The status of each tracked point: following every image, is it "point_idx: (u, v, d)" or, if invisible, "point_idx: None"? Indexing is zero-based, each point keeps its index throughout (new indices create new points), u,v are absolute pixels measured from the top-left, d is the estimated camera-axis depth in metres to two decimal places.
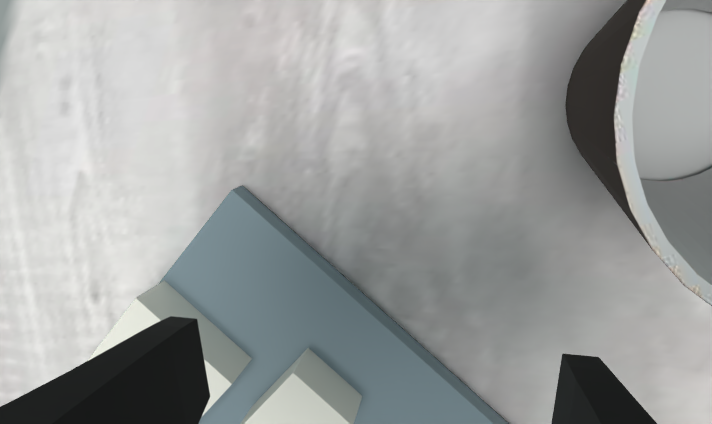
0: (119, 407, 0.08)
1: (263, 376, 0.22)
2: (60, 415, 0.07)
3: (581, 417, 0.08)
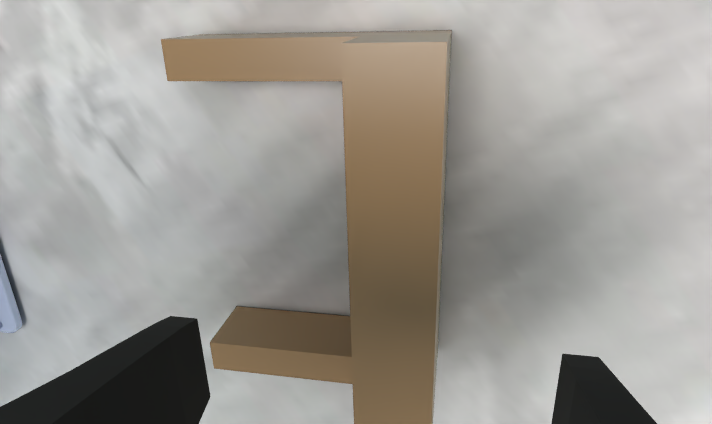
0: (119, 407, 0.08)
1: None
2: (60, 415, 0.07)
3: (581, 417, 0.08)
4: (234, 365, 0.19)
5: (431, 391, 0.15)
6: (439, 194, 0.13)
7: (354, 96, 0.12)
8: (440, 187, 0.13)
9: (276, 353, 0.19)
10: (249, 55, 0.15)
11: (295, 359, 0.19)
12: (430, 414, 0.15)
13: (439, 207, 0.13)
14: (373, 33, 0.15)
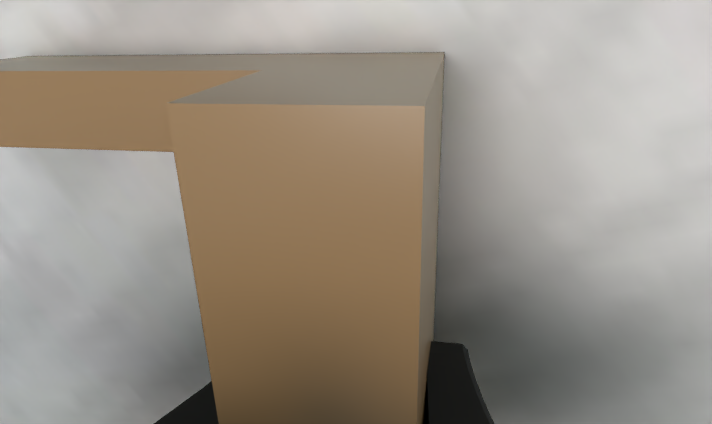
0: None
1: None
2: None
3: (426, 399, 0.08)
4: None
5: None
6: None
7: (211, 223, 0.05)
8: (414, 415, 0.06)
9: None
10: (62, 102, 0.08)
11: None
12: None
13: None
14: (300, 60, 0.08)
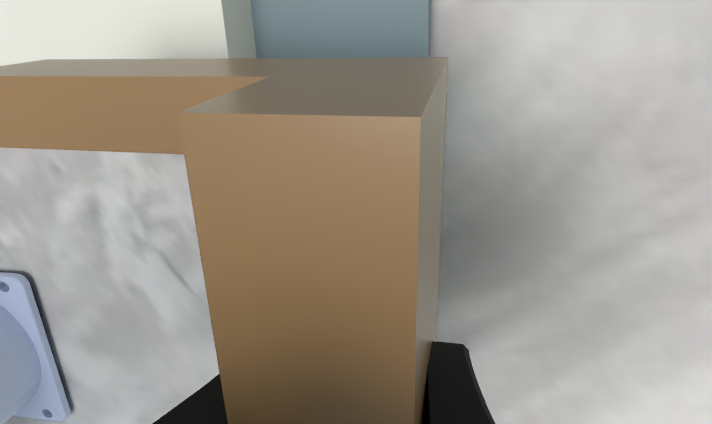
0: None
1: None
2: None
3: (427, 399, 0.08)
4: None
5: None
6: (410, 422, 0.06)
7: (219, 225, 0.05)
8: (412, 409, 0.06)
9: None
10: (80, 106, 0.08)
11: None
12: None
13: None
14: (307, 65, 0.08)
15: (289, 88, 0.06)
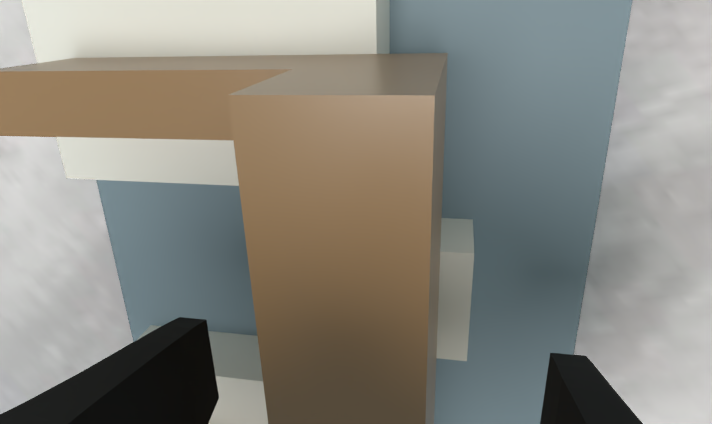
0: (131, 409, 0.08)
1: None
2: (73, 417, 0.07)
3: (567, 415, 0.08)
4: None
5: None
6: (424, 363, 0.07)
7: (261, 192, 0.06)
8: (425, 352, 0.07)
9: None
10: (118, 97, 0.09)
11: None
12: None
13: (424, 384, 0.07)
14: (322, 60, 0.09)
15: (314, 77, 0.07)
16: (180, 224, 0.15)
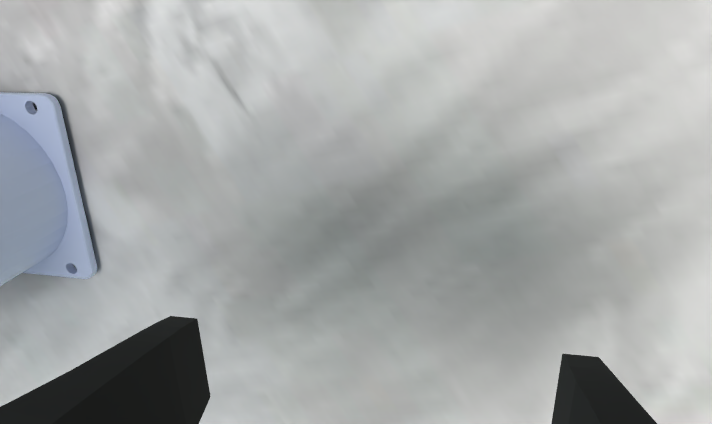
0: (119, 407, 0.08)
1: None
2: (60, 415, 0.07)
3: (581, 417, 0.08)
4: None
5: None
6: None
7: None
8: None
9: None
10: None
11: None
12: None
13: None
14: None
15: None
16: None
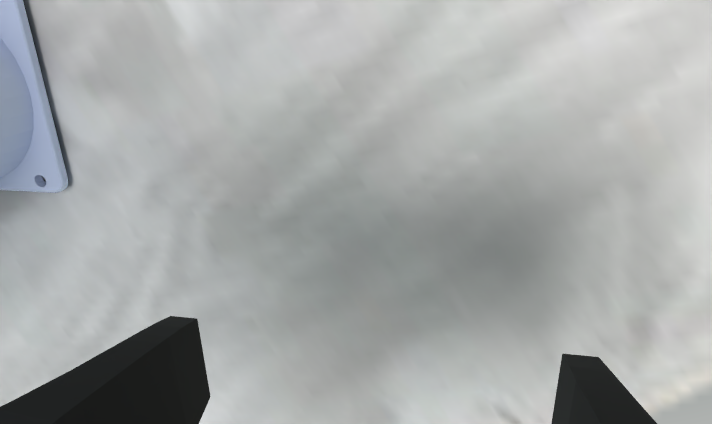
0: (119, 407, 0.08)
1: None
2: (60, 415, 0.07)
3: (581, 417, 0.08)
4: None
5: None
6: None
7: None
8: None
9: None
10: None
11: None
12: None
13: None
14: None
15: None
16: None
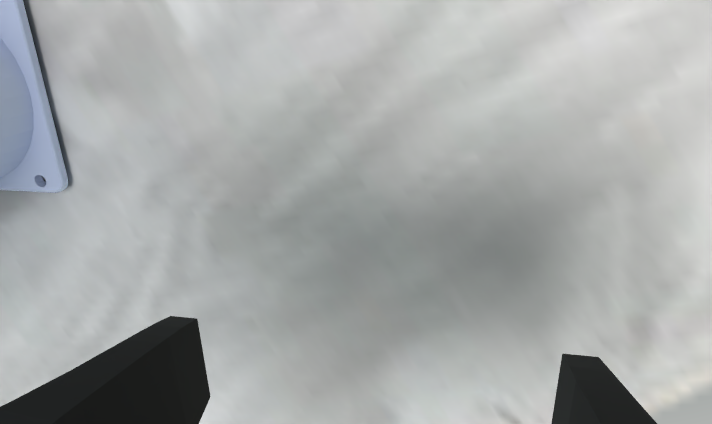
0: (119, 407, 0.08)
1: None
2: (60, 415, 0.07)
3: (581, 417, 0.08)
4: None
5: None
6: None
7: None
8: None
9: None
10: None
11: None
12: None
13: None
14: None
15: None
16: None
